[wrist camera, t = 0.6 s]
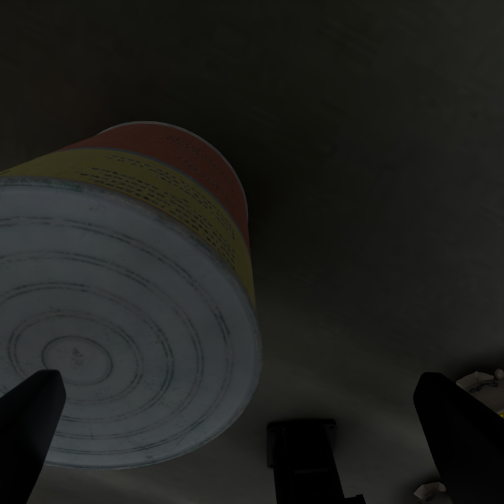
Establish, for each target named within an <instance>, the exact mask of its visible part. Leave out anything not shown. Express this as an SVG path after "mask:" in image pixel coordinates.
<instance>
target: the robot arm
mask: <svg viewBox="0 0 504 504" xmlns="http://www.w3.org/2000/svg"><path fill="white" fill-rule="evenodd" d="M413 400H414V405H415V408H416V411H417V414H418V416H419V419H420V422H421V425H422V428H423V431H424V434H425V437H426V440H427V442H428V445H429V448H430V451H431V454H432V457H433V459H434V462H435V465H436V467H437V469H438V472H439V474H440V476H441V479H442V481H443V483H444V485H445V488H446V490H447V492H448V494H449V496H450V499H451V501H452V503H453V504H504V418H503V417H501V416H500V415H498V414H497V413H496V412H494V411H493V410H492V409H490V408H489V407H487V406H486V405H485V404H483V403H482V402H480V401H479V400H478V399H476V398H475V397H473V396H472V395H471V394H469V393H468V392H466V391H465V390H464V389H462V388H461V387H460V386H458V385H457V384H455V383H454V382H453V381H451V380H450V379H448V378H447V377H446V376H444V375H443V374H441V373H437V372H425V373H423V374H422V375H421V377H420V379H419V382H418V384H417V387H416V389H415V392H414V395H413ZM65 402H66V390H65V386H64V383H63V379H62V376H61V373H60V371H59V370H56V369H41V370H39V371H37V372H35V373H34V374H32V375H31V376H30V377H28V378H27V379H25V380H24V381H23V382H21V383H20V384H18V385H17V386H16V387H14V388H13V389H11V390H10V391H9V392H7V393H6V394H4V395H3V396H2V397H0V504H26V503H27V501H28V498H29V496H30V494H31V492H32V490H33V488H34V486H35V483H36V481H37V479H38V477H39V474H40V472H41V469H42V467H43V464H44V462H45V459H46V456H47V453H48V451H49V448H50V445H51V442H52V439H53V436H54V434H55V431H56V428H57V425H58V422H59V419H60V417H61V414H62V411H63V408H64V405H65ZM336 429H337V426H336V422H335V421H333V420H325V421H309V422H293V423H277V424H269V425H268V426H267V467H268V468H270V469H273V471H274V481H275V491H276V501H277V504H366V503H365V500H364V497H363V494H360V495H356V497H350V498H345V497H344V493H343V490H342V486H341V482H340V478H339V475H338V471H337V467H336V463H335V460H334V456H333V448H334V442H335V435H336Z"/></svg>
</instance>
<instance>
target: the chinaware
mask: <svg viewBox="0 0 504 504" xmlns="http://www.w3.org/2000/svg"><path fill="white" fill-rule="evenodd" d="M495 376H496V378H497V379H498V380H493V379H494V376H490V375H488V374H486V373H480V372H478V371H476V372H474V373H472V374H470V375H467V376H465V377H463V378H462V379H460V380H457V381H456V384H457V385H458V386H460V387H461V388H462V389H464V390H465V391H466V392H468V393H469V394H471V395H472V396H473V397H475V398H476V399H478V400H479V401H480V402H482V403H483V404H485V405H486V406H487V407H489V408H490V409H492V410H493V411H494V412H496V413H497V414H498V415H500V416H501V417H503V418H504V371H502V370H501V369H497V370H496V371H495ZM445 491H446V488H445V486H444V485H443V484H441V483H440V482H435V483H428V484H423V485H422V486H421V487H419V488H418V489H417V490H416V492H415V493H414V495H416V496H417V497H419V498H421V499H420V500H419V501H418V503H417V504H453V503H452V501H451V499H450V496H449V494H448V492H445Z"/></svg>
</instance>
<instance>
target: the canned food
mask: <svg viewBox="0 0 504 504" xmlns="http://www.w3.org/2000/svg"><path fill="white" fill-rule="evenodd" d="M262 363H263V341H262V334H261V328H260V323H259V320H258V316H257V313H256V303H255V293H254V283H253V273H252V263H251V253H250V242H249V232H248V207H247V201H246V196H245V193H244V189H243V187H242V184H241V182H240V180H239V178H238V176H237V174H236V172H235V171H234V169H233V168H232V166H231V165H230V163H229V162H228V161H227V160H226V158H225V157H224V156H223V155H222V154H221V153H220V152H219V151H218V150H217V149H216V148H215V147H214V146H212V145H211V144H210V143H209V142H207V141H206V140H204V139H203V138H201V137H200V136H198V135H196V134H194V133H192V132H190V131H188V130H186V129H184V128H181V127H178V126H175V125H171V124H167V123H162V122H155V121H135V122H128V123H123V124H120V125H116V126H113V127H111V128H108V129H106V130H104V131H102V132H100V133H98V134H97V135H95V136H93V137H90V138H88V139H85V140H82V141H80V142H77V143H75V144H72V145H69V146H67V147H64V148H62V149H59V150H57V151H54V152H51V153H49V154H46V155H44V156H41V157H38V158H36V159H33V160H31V161H28V162H26V163H23V164H20V165H18V166H15V167H13V168H10V169H7V170H5V171H2V172H0V397H2V396H3V395H4V394H6V393H7V392H9V391H10V390H11V389H13V388H14V387H16V386H17V385H18V384H20V383H21V382H23V381H24V380H25V379H27V378H28V377H30V376H31V375H32V374H34V373H35V372H37V371H39V370H41V369H56V370H59V371H60V373H61V376H62V379H63V383H64V386H65V390H66V402H65V405H64V408H63V411H62V414H61V417H60V419H59V422H58V425H57V428H56V431H55V434H54V436H53V439H52V442H51V445H50V448H49V451H48V453H47V456H46V459H45V462H44V464H43V465H49V466H54V467H62V468H69V469H82V470H118V469H129V468H136V467H143V466H148V465H153V464H157V463H161V462H165V461H168V460H172V459H174V458H177V457H180V456H183V455H185V454H187V453H190V452H192V451H194V450H196V449H198V448H200V447H202V446H204V445H205V444H207V443H209V442H210V441H212V440H213V439H215V438H216V437H218V436H219V435H220V434H221V433H223V432H224V431H225V430H226V429H228V428H229V427H230V426H231V425H232V424H233V423H234V422H235V421H236V420H237V419H238V417H239V416H240V415H241V414H242V413H243V411H244V410H245V408H246V407H247V405H248V404H249V402H250V401H251V399H252V397H253V395H254V393H255V391H256V388H257V385H258V382H259V380H260V375H261V370H262Z"/></svg>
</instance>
